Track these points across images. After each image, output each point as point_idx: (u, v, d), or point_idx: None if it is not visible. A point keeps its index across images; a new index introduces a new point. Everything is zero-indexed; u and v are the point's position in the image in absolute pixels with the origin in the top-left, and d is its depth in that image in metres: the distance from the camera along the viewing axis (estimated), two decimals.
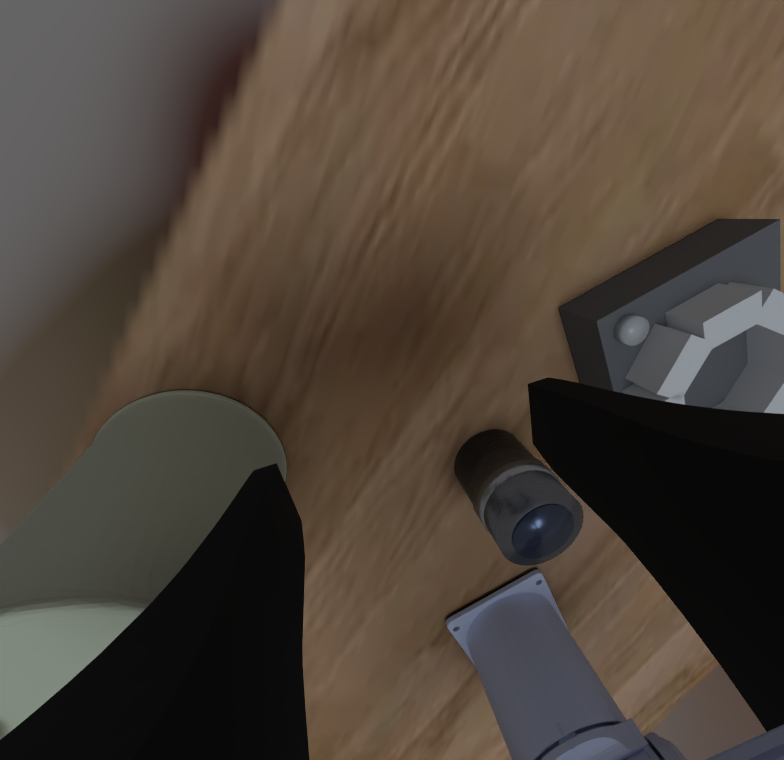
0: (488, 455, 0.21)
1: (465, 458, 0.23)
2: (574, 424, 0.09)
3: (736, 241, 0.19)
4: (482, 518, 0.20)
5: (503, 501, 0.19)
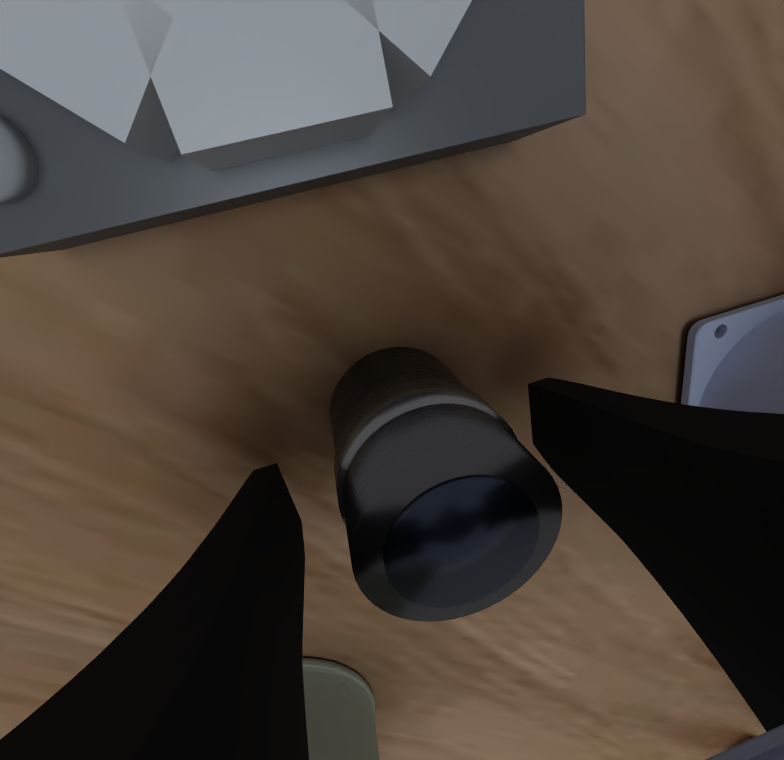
0: None
1: None
2: (574, 424, 0.09)
3: None
4: None
5: None
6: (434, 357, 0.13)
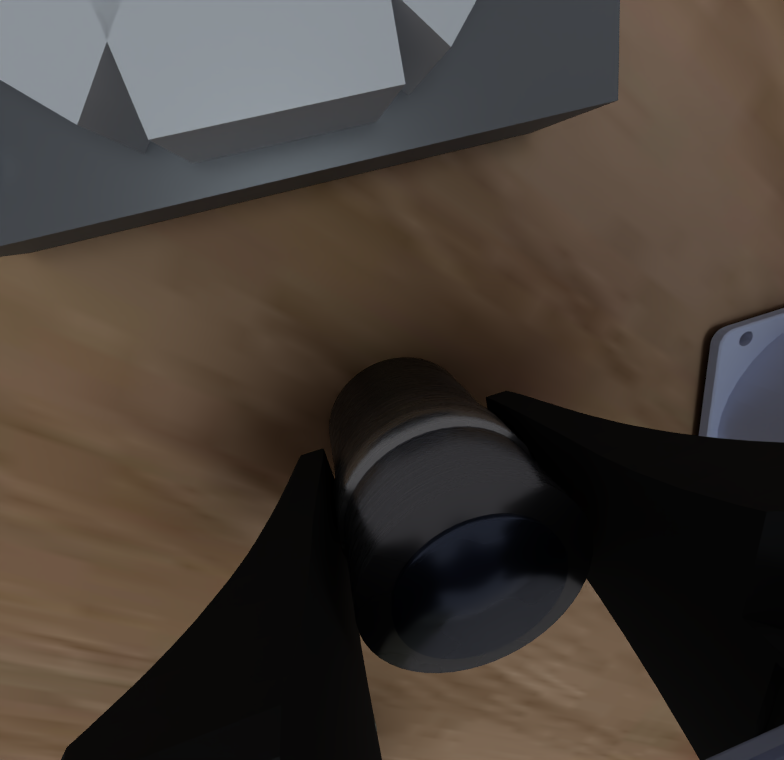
0: None
1: None
2: (525, 440, 0.09)
3: None
4: None
5: None
6: (442, 368, 0.12)
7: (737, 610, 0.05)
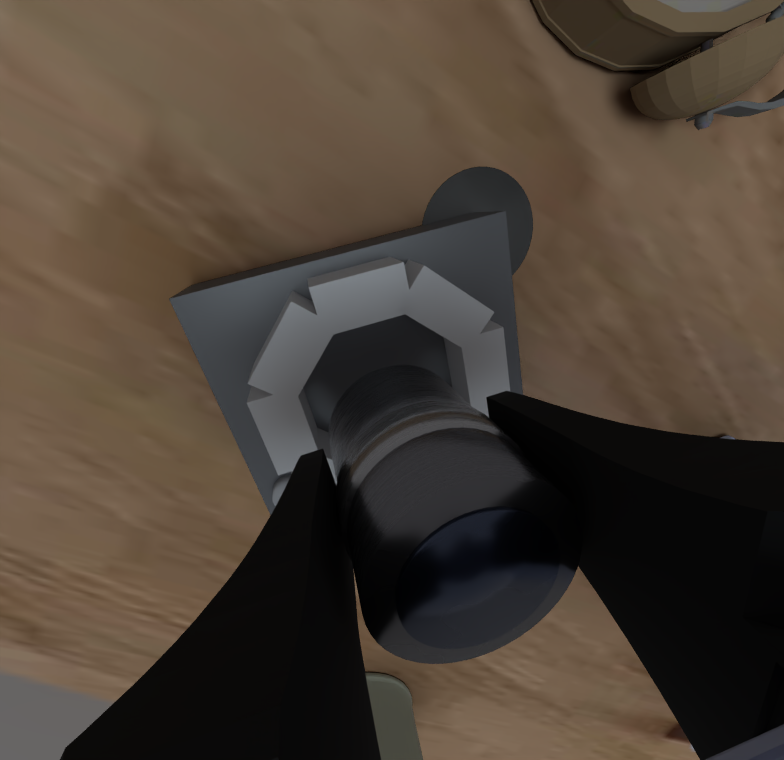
0: None
1: None
2: (526, 440, 0.09)
3: (198, 357, 0.14)
4: None
5: None
6: (435, 374, 0.12)
7: (738, 610, 0.05)
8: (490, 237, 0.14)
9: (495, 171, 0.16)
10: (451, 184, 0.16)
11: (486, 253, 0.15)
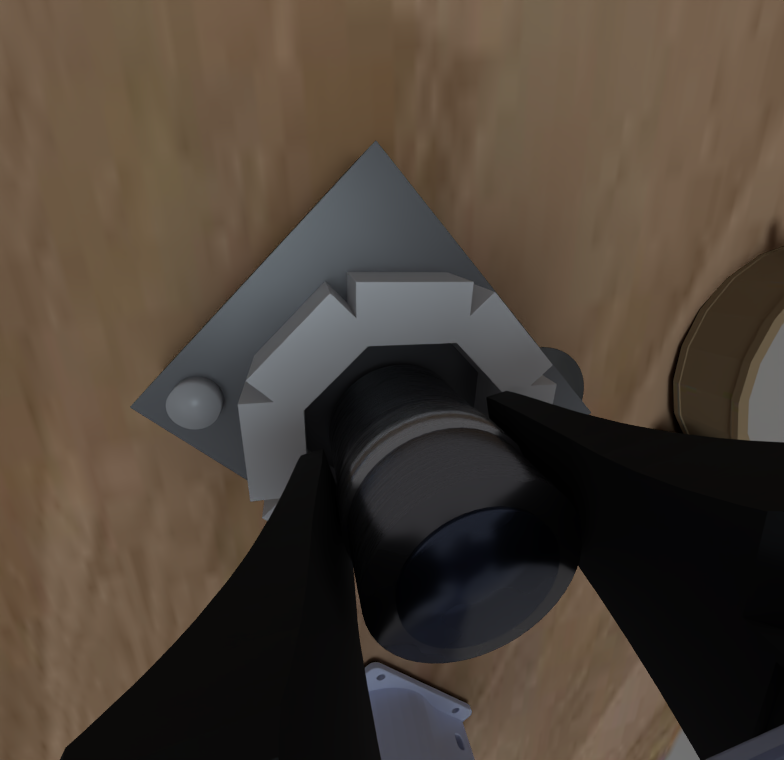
0: None
1: None
2: (526, 440, 0.09)
3: (317, 203, 0.10)
4: None
5: None
6: (435, 374, 0.12)
7: (737, 610, 0.05)
8: None
9: (581, 383, 0.18)
10: (559, 356, 0.17)
11: None
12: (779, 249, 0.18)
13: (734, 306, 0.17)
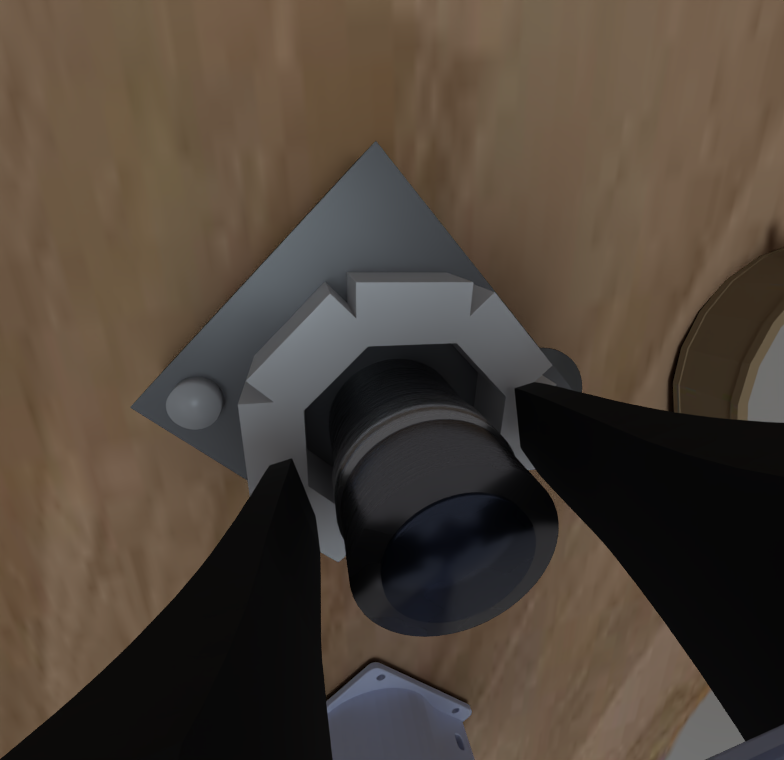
0: None
1: None
2: (558, 429, 0.09)
3: (317, 203, 0.10)
4: None
5: None
6: (431, 368, 0.13)
7: None
8: None
9: (579, 384, 0.18)
10: (558, 357, 0.17)
11: None
12: (779, 251, 0.18)
13: (733, 308, 0.17)
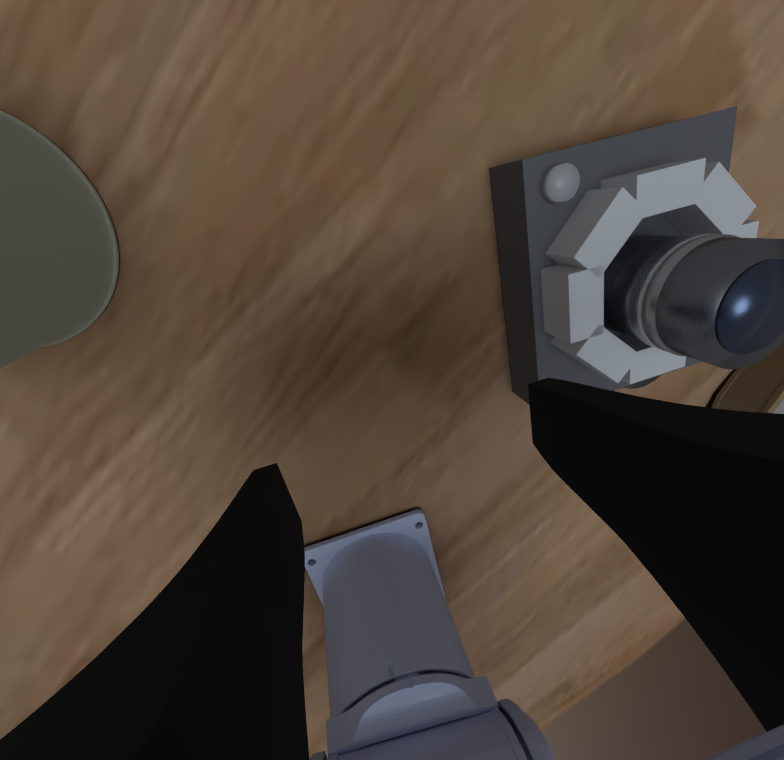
0: (618, 281, 0.16)
1: None
2: (574, 424, 0.09)
3: (689, 118, 0.17)
4: (666, 349, 0.15)
5: (676, 316, 0.14)
6: None
7: None
8: None
9: None
10: None
11: None
12: None
13: (778, 357, 0.25)
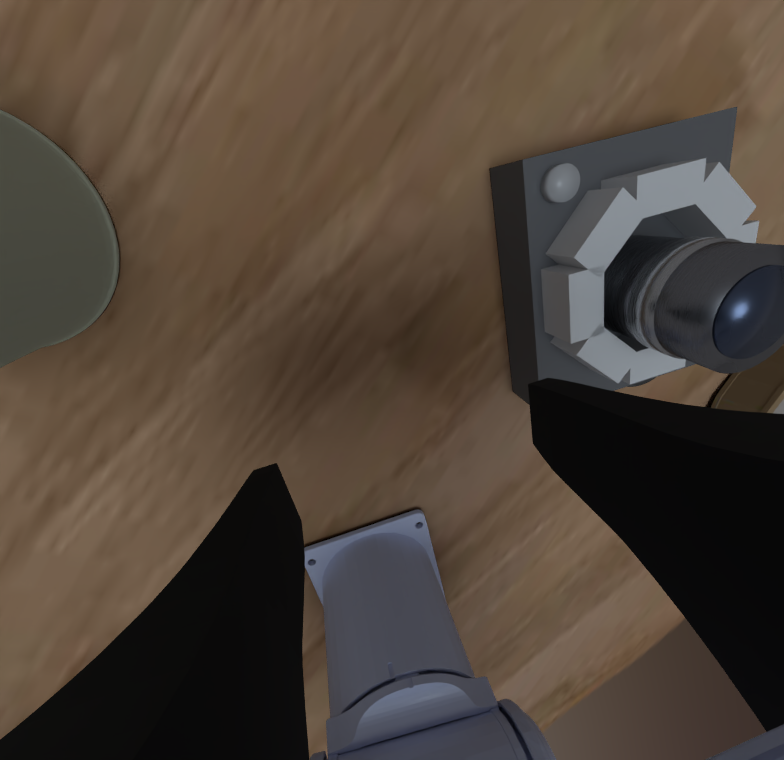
0: (618, 284, 0.16)
1: None
2: (574, 424, 0.09)
3: (689, 118, 0.17)
4: (665, 352, 0.16)
5: (674, 321, 0.14)
6: None
7: None
8: None
9: None
10: None
11: None
12: None
13: (778, 358, 0.25)
